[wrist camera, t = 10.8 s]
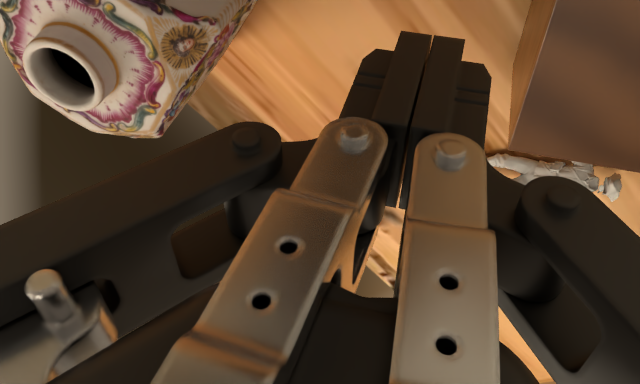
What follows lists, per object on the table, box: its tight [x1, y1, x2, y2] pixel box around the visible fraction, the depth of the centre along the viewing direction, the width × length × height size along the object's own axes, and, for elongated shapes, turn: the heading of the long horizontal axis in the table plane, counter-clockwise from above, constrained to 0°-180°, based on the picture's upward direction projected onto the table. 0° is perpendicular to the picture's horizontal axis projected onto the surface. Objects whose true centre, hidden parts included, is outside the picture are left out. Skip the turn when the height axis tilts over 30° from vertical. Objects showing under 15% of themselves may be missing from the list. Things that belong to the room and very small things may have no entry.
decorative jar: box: [0, 0, 258, 138], centre depth 36 cm, size 12×12×18 cm
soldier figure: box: [487, 153, 622, 202], centre depth 46 cm, size 8×5×12 cm
